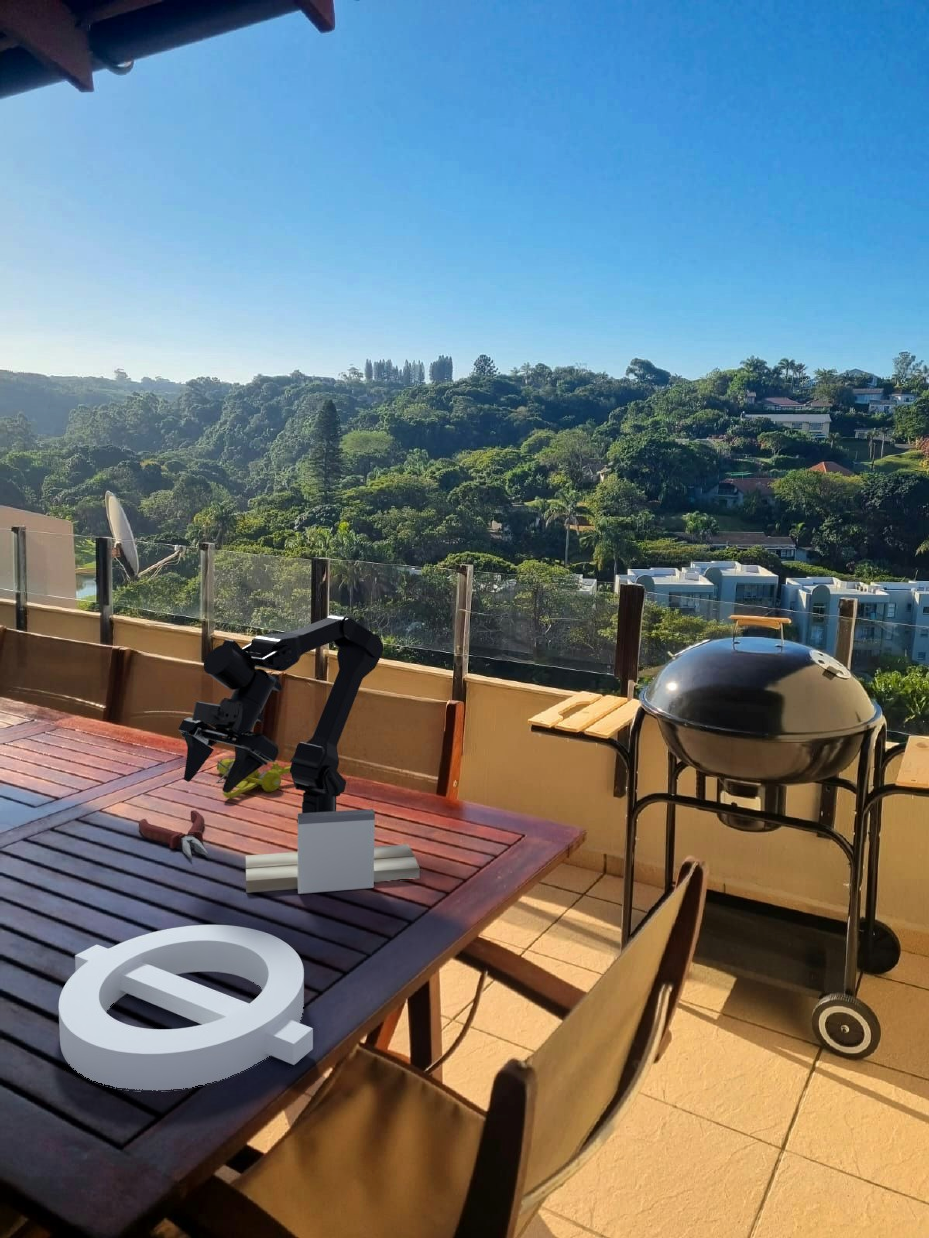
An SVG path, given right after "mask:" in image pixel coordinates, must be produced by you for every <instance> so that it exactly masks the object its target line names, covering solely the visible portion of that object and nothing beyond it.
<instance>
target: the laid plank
mask: <svg viewBox="0 0 929 1238" xmlns="http://www.w3.org/2000/svg"><path fill="white" fill-rule="evenodd" d="M420 871H421V870H420V865H419V863H418V860H417V859H416V856H415V854H414V853H413V850H412V848H411V846H410V844H408V843H407V844H393V845H392V844H391V845H379V846H377V845H376V846H374V882H375V883H381V882H380V881H387V880H397V879H409V878H418V877H419V878H420ZM297 885H298V851H292V852H291V851H290V852H277V853H266V854H265V853H263V854H248V855H245V893H246V894H247V893H261V892H271V891H272V892H273V891H284V890H295V889H297V890H298V888H297Z"/></svg>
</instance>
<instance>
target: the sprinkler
mask: <svg viewBox="0 0 929 1238" xmlns="http://www.w3.org/2000/svg"><path fill="white" fill-rule="evenodd" d="M234 761H235V755H229V756H228V758H224V759H221V760H217V763H216V770H217V771H218V772H219V773H220V774H221V775H222V777H220V778H219V779H218V780H217V781H216V782H215V783H216V784H218V783H220V782H221V781H222V780H223V779H224V778H225V777H226V778H227V776H228V774H229V772H230V770H231V767H232V765H233V763H234ZM266 762H267V763H271V762H270V761H266ZM290 767H291V765H289V766H285V767H281V766H280V765H279V764H278V762H272V765H271V769H270V770H267V771H264V772H259V769H257V770H256V771H254V772H253V773H252V774H250V775H249V776H248V777H246V778H245V779H244V780H243V781H241V782H240V783H239V784H238V785H237V786H235V787H234V788H233V789H232V790H231V791H230V792H228V793H225V792H224V791H223V790H222V795H223V797H225V798H226V799H233V798H236V797H238V796H239V795H240V796H241V795H242V794H243V793H245V792H247V791H251V790H253V789H254V788H256V787H257V786H261V787H262V790H264V792H265V793H272V792H275V791H277V789H278V788H279V787H280V785H281V783H282V775H287V774H291V773H290ZM235 788H238V789H236V790H234V789H235ZM233 790H234V791H233Z"/></svg>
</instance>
